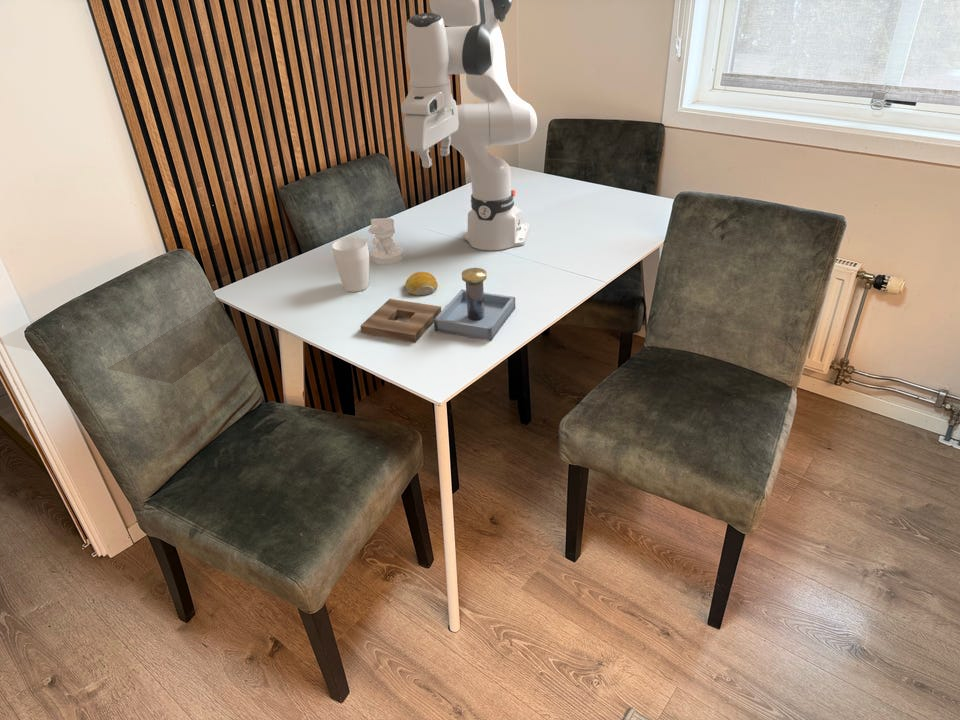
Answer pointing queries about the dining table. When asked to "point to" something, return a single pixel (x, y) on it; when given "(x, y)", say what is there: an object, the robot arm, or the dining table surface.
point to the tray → (458, 323)
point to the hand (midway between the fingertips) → (436, 161)
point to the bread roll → (421, 283)
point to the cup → (352, 263)
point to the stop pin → (474, 292)
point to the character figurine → (384, 242)
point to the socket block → (406, 331)
